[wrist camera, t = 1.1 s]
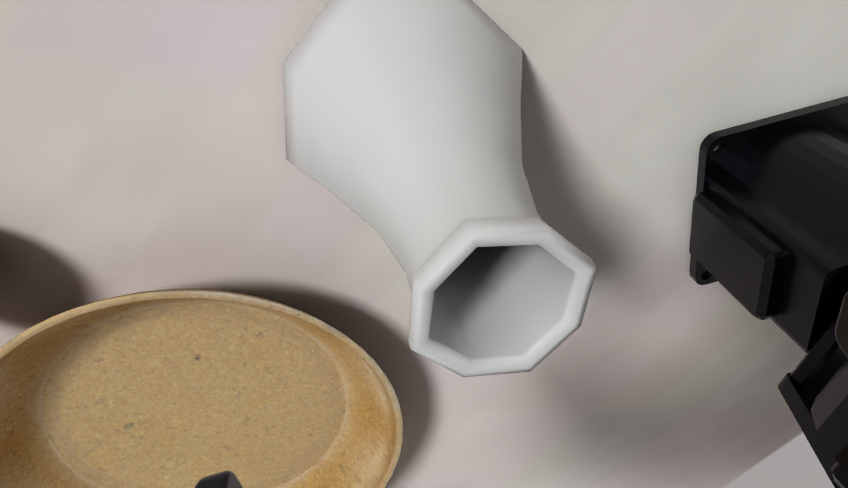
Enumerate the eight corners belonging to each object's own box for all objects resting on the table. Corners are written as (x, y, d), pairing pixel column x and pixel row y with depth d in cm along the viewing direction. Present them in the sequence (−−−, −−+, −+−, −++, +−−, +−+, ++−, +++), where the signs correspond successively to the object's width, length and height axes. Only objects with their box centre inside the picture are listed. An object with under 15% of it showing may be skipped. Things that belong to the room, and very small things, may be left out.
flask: (457, 229, 21) (572, 470, 13) (248, 172, 19) (228, 432, 10) (558, 28, 18) (792, 181, 10) (323, -76, 15) (380, 18, 7)
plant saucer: (136, 565, 28) (125, 625, 26) (-132, 350, 19) (-182, 412, 17) (437, 446, 28) (451, 496, 26) (298, 178, 19) (301, 219, 17)
